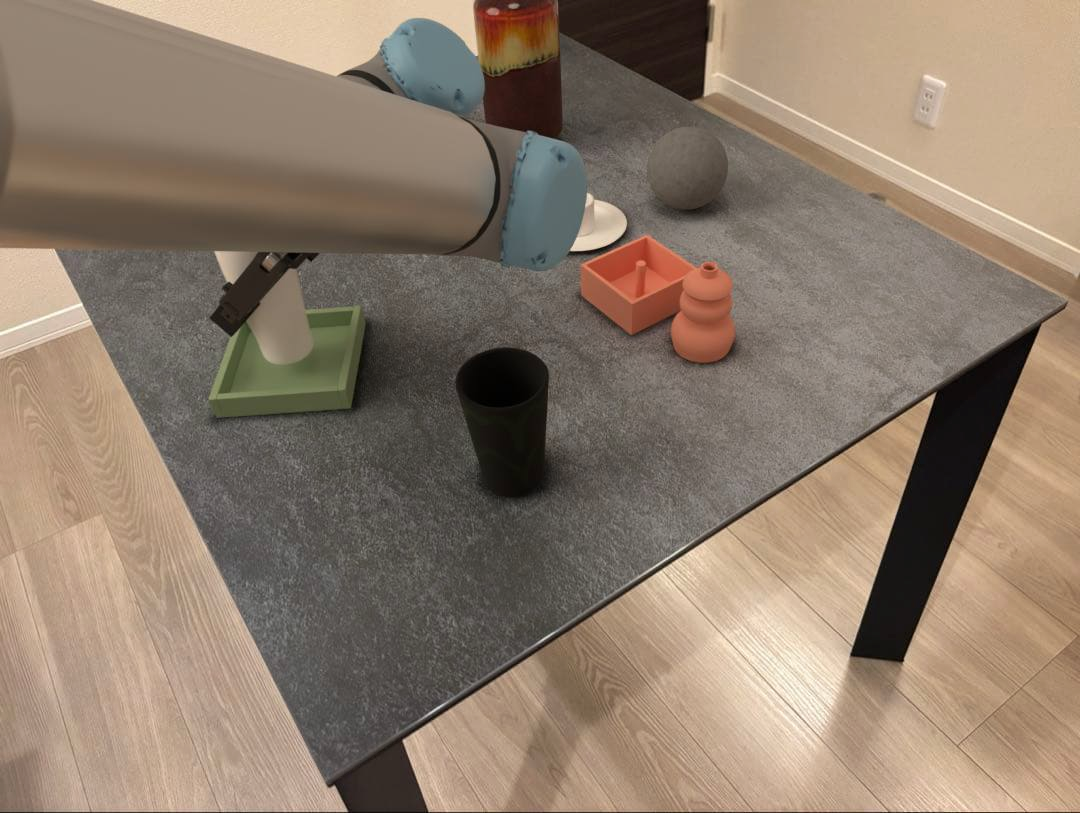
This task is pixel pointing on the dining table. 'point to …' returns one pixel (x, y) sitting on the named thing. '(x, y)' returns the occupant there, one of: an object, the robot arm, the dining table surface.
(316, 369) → the green shallow square tray
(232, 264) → the drinking glass
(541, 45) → the vase
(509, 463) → the cup
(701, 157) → the decorative ball
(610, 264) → the pottery
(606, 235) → the candle holder
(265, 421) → the dining table surface
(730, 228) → the dining table surface
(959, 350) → the dining table surface
